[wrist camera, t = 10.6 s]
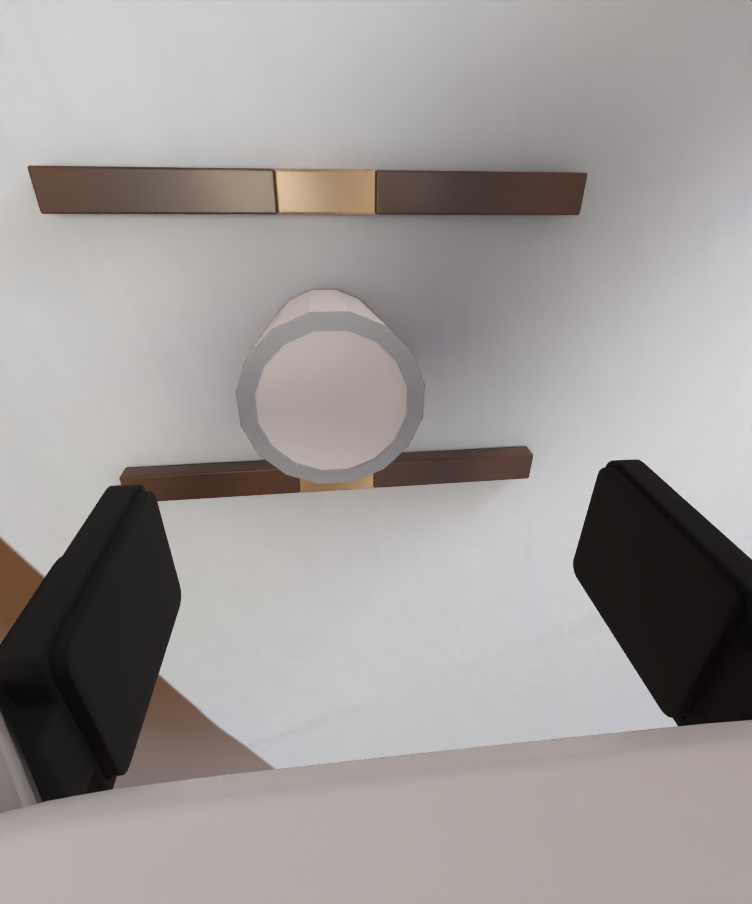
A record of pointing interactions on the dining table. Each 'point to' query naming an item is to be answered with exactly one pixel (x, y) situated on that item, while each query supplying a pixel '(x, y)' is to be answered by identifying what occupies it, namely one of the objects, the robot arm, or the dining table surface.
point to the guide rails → (310, 196)
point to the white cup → (329, 390)
